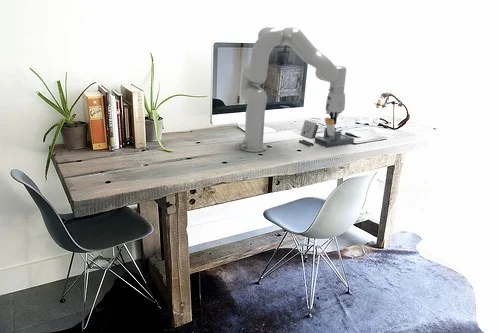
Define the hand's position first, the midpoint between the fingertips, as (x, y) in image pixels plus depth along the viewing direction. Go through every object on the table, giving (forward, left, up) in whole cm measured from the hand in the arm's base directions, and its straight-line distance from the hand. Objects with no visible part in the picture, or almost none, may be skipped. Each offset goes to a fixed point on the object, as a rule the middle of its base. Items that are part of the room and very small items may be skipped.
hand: (332, 123), depth 210 cm
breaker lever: (+1, 0, -7) cm, 7 cm away
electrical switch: (-1, +17, -12) cm, 21 cm away
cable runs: (-13, +5, -11) cm, 18 cm away
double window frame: (+3, 0, -11) cm, 12 cm away
